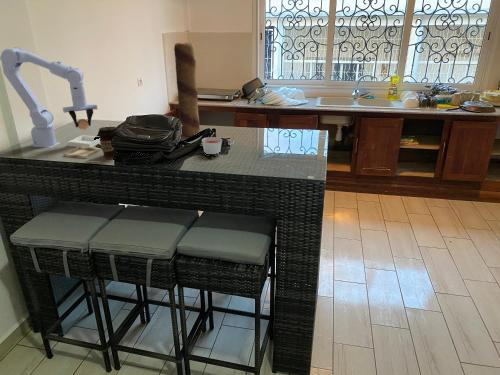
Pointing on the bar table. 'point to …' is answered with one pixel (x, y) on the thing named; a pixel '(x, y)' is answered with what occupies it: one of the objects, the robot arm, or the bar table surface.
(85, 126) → the ball
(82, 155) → the tray
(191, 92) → the wafer roll
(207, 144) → the candle
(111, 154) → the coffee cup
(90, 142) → the dish
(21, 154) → the bar table surface
